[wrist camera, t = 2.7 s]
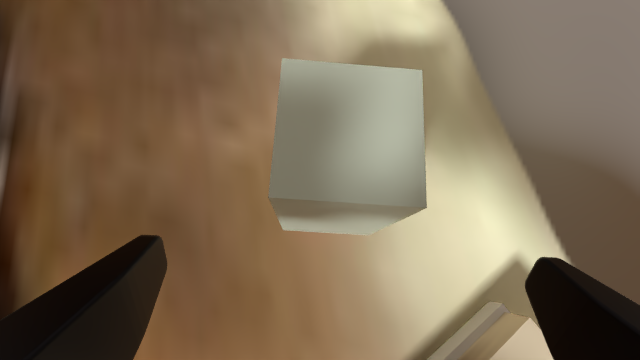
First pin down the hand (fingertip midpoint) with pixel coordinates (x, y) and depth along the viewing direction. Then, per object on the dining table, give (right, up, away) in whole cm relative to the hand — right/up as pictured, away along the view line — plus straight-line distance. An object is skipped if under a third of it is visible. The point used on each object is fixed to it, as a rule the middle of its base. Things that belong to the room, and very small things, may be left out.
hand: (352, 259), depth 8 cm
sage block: (0, +1, +12) cm, 12 cm away
